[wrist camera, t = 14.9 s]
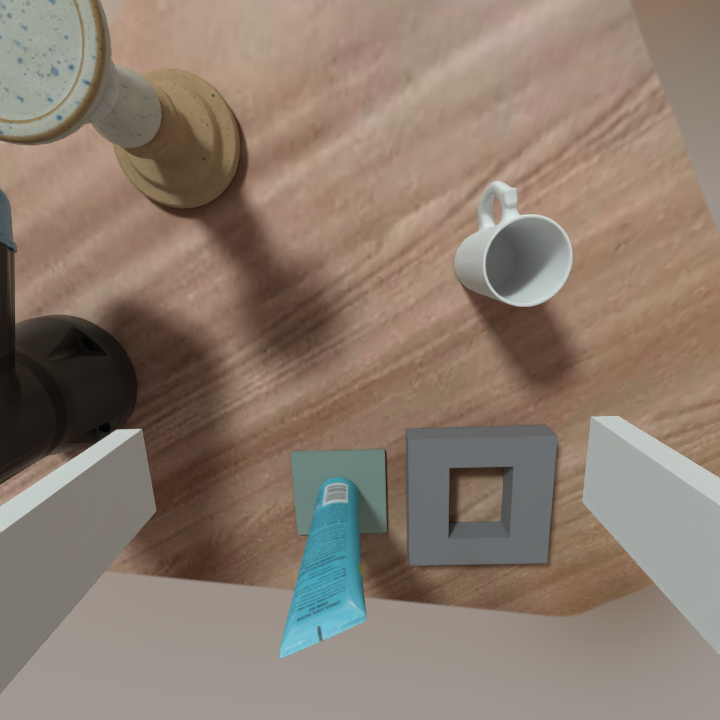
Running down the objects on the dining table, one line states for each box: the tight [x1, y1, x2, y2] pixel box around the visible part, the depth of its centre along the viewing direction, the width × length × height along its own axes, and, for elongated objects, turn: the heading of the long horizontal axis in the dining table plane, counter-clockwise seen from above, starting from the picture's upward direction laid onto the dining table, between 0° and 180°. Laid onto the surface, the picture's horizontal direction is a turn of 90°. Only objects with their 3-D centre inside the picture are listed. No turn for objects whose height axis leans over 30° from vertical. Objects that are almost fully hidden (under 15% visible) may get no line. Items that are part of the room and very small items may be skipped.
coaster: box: [291, 449, 387, 535], centre depth 48 cm, size 11×11×1 cm
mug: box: [454, 181, 573, 307], centre depth 36 cm, size 10×7×12 cm, turn 14°
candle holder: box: [0, 0, 240, 208], centre depth 30 cm, size 12×12×20 cm
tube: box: [279, 477, 366, 659], centre depth 39 cm, size 7×5×19 cm, turn 124°
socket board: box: [406, 425, 558, 566], centre depth 47 cm, size 16×16×3 cm
